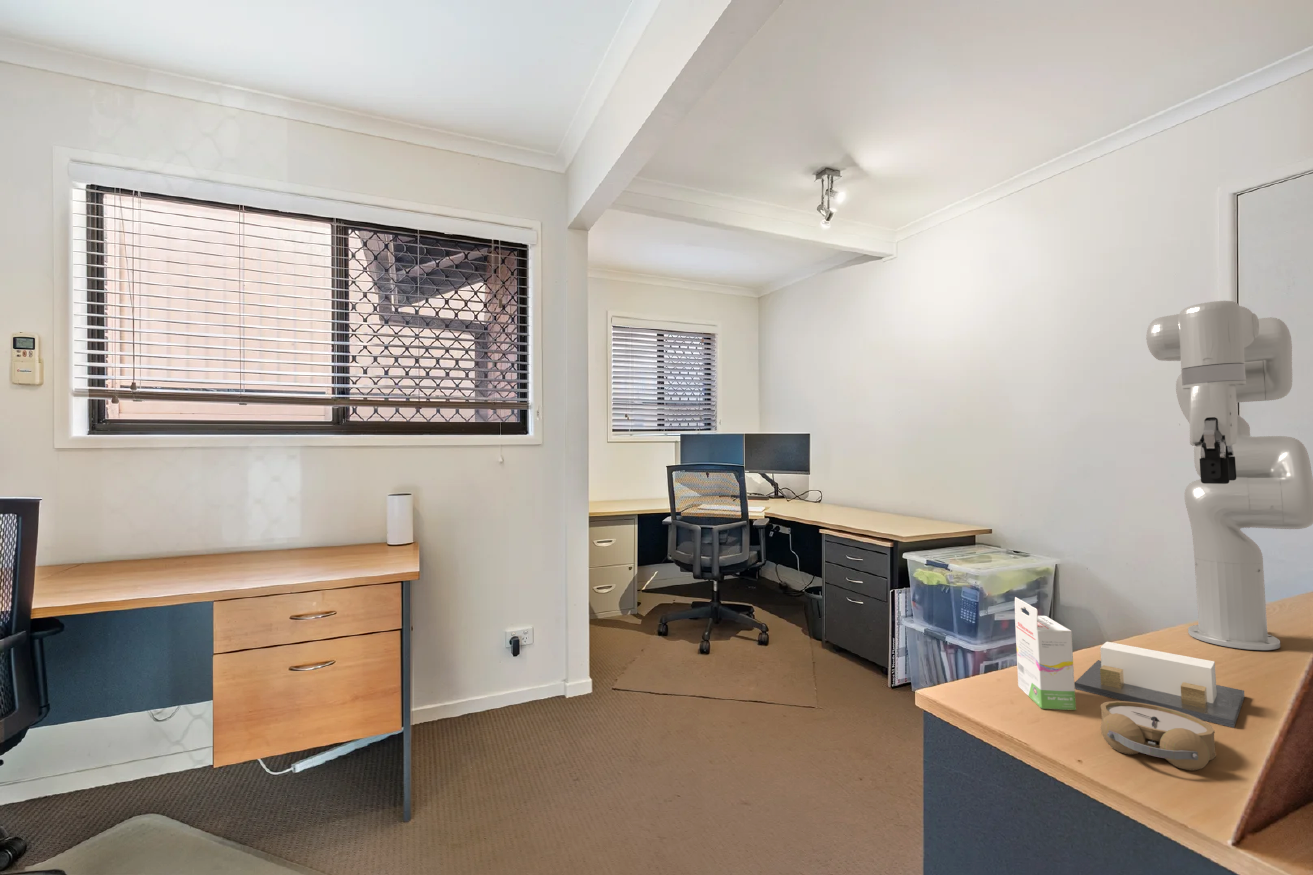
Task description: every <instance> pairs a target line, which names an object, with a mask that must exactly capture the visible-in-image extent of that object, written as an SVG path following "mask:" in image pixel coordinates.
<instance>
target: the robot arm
mask: <svg viewBox="0 0 1313 875" xmlns="http://www.w3.org/2000/svg"><path fill="white" fill-rule="evenodd" d="M1145 338H1146V339H1145V340H1146V344H1147V348H1148V352H1150V354H1151V355H1152V356H1153V357H1154V358H1155V359H1156V360H1157V361H1161V362H1163V361H1164V362H1180V369H1181V370H1180V372H1181V374H1180V375H1179V376H1178V377H1177V379H1176V381H1175V382H1176V383H1175V391H1176V398H1177V401H1178V405H1179V408H1180V410H1181V413H1182V414H1183V416H1184V417H1185V419H1186V420H1187V422H1188V423H1189V445H1191V446H1192V447H1193V459H1194V460H1193V461H1194V467H1195V471H1196V473H1197V475H1198V476H1199V477H1200V478H1199V479H1196V480H1193V481H1192V482H1191V483H1189V484H1188V485H1187V486H1186V488H1185V489H1184V503H1185V509H1186V511H1187V515H1188V518H1189V522H1190V529H1191V536H1192V543H1193V544H1192V545H1193V558H1194V571H1195V572H1194V573H1195V576H1194V577H1195V591H1196V592H1195V593H1196V604H1197V606H1196V607H1197V623H1198V624H1193V625H1190V626H1189V627H1187V628H1188V629H1187V630H1188V634H1189V636H1190V637H1192V638H1193V639H1197V640H1199V641H1202V642H1205V643H1208V644H1209V643H1210V644H1213V645H1217V646H1222V647H1227V648H1234V649H1240V650H1241V649H1242V650H1250V651H1272V650H1277V649H1280V648H1281V640H1280V639H1279V638H1277V637H1276V636H1273V635H1272V634H1268V621H1267V620H1268V619H1267V606H1266V605H1267V602H1266V591H1265V588H1266V587H1265V573H1264V571H1265V570H1264V558H1263V557H1264V556H1263V552H1262V550H1261V548H1260V546H1259V545H1258V544H1257V543H1256V542H1255V541H1254V540H1253V539H1252V538H1251V537H1249V536H1248V535H1247V534H1246V533H1244V532H1243V531H1242V529H1244V528H1246V529H1247V528H1248V529H1249V528H1255V529H1273V530H1274V529H1276V530H1277V529H1278V530H1303V529H1306V528H1308V527H1311V526H1312V525H1313V471H1312V467H1311V466H1312V465H1311V460H1310V457H1309V452H1308V450H1307V447H1306V446H1305V444H1303V442H1301V441H1300V440H1299V439H1298V438H1295V437H1292V436H1284V435H1283V436H1282V435H1263V436H1251V428H1250V424H1249V423H1248V422H1247V420H1245V419H1244V418H1243V417H1241V416H1240V415H1239V414H1238V405H1237V403H1249V402H1251V403H1252V402H1264V401H1265V402H1267V401H1268V402H1269V401H1276V400H1279V399H1282V398H1285V397H1286V396H1287V395H1288V394H1289V393H1290V392H1291V391H1292V390H1291V389H1292V386H1293V344H1292V336H1291V332H1290V329H1289V327H1288V325H1287V324H1286V323H1285V321H1283V320H1281V319H1280V318H1277V317H1273V316H1272V317H1260V318H1259V317H1258V316H1257V314H1256V313H1255V312H1254V313H1253V311H1251V309H1249V308H1248V307H1245V306H1242V305H1240V304H1239V303H1237V302H1236V301H1234V300H1216V301H1215V300H1214V301H1208V302H1202V303H1197V304H1193V305H1190V306H1187V307H1184V308H1183V309H1182V310H1181V311H1180V312H1179V313H1176V314H1172V315H1164V316H1161V317H1157V318H1155V319H1154V320H1152V321H1151V322H1150V323H1149V325H1148V327H1147V330H1146V337H1145Z"/></svg>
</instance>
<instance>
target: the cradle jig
mask: <svg viewBox="0 0 1313 875" xmlns="http://www.w3.org/2000/svg"><path fill="white" fill-rule="evenodd" d="M1074 685H1075V690H1078V691H1082V692H1086V693H1090V694H1094V695H1099V696H1103V697H1106V698H1110V699H1114V700H1117V701H1129V702H1138V703H1144V704H1150V705H1155V706H1160V707H1164V708H1168V709H1172V710H1176V711H1179V712H1182V713H1185V714H1188V715H1191V716H1193V717H1196V718H1198V719H1200V720H1203V721H1204V722H1207V723H1212V724H1217V725H1221V726H1225V727H1229V728H1232V729H1235V726H1236V724H1237V721H1238V717H1239V715H1240V711H1241V708H1242V705H1243V703H1244V700H1245V696H1246V695H1245V690H1244V689H1243V690H1242V689H1238V688H1235V687H1234V688H1233V687H1229V686H1223V685H1220V684H1216V690H1217V696H1216V698H1215V701H1214V703H1209V702H1207V690H1206V687H1204V686H1199V685H1194V684H1190V683H1185V682H1183V683H1182V685H1181V696H1178V695H1173V694H1169V693H1165V692H1160V691H1156V690H1151V689H1147V688H1143V687H1138V686H1134V685H1129V684H1125V683H1124V677H1123V669H1119V668H1114V667H1110V666H1105V665H1103V666H1102V667H1101V659H1100V660H1098V659H1097V660H1096V661H1095V662H1094V663H1093V664H1092V665H1091V666H1090V667H1089V668H1088V669H1087V670H1086V671H1085V672H1083V673H1082V674H1081V675H1080V677H1078V678H1077V679H1076V681H1074Z"/></svg>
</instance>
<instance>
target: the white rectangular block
mask: <svg viewBox="0 0 1313 875" xmlns="http://www.w3.org/2000/svg"><path fill="white" fill-rule="evenodd" d="M1100 661H1101V667H1102V666H1103V665H1105V666H1110V667H1114V668H1119V669H1123V677H1124V683H1125V684H1129V685H1134V686H1138V687H1143V688H1147V689H1151V690H1156V691H1160V692H1165V693H1169V694H1173V695H1178V696H1181V685H1182V683H1183V682H1185V683H1190V684H1194V685H1199V686H1204V687H1206V690H1207V702H1209V703H1214V701H1215V698H1216V696H1217V690H1216V685H1217V678H1216V662H1215V660H1210V659H1209V660H1208V659H1203V658H1197V657H1192V656H1188V655H1187V656H1186V655H1183V654H1182V655H1181V654H1176V653H1171V652H1165V651H1161V650H1160V651H1159V650H1153V649H1149V648H1144V647H1138V646H1133V645H1128V644H1121V643H1116V642H1113V641H1111V642H1110V641H1105V642H1104V643H1103V644H1102V645H1101V646H1100Z"/></svg>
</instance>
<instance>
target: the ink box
mask: <svg viewBox="0 0 1313 875" xmlns="http://www.w3.org/2000/svg"><path fill="white" fill-rule="evenodd" d="M1023 610H1026V611H1027V612H1028V614H1027V613H1025V612H1024V611H1023ZM1038 613H1039V611H1038V609H1037V608H1036V607H1034V606H1032V605H1031V604H1029V603H1028V602H1026V601H1024V600H1022V599H1020V598H1018V597H1016V596H1015V597H1014V623H1015V626H1014V628H1015V643H1016V644H1015V646H1016V647H1015V648H1016V664H1017V668H1016V670H1017V686H1018V688H1019V689H1021V691H1022V692H1024V693H1025V694H1026V696H1028V697H1029V698H1030V699H1031V700H1032V702H1034V703H1035V704H1036V705H1037V706H1038V707H1039V708H1040V709H1045V710H1061V711H1063V710H1064V711H1070V710H1071V711H1076V710H1077V704H1076V689H1075V674H1074V673H1075V672H1074V671H1075V670H1074V658H1073V657H1074V656H1073V631H1072V630H1070V629H1069V628H1067V627H1066V626H1064V625H1062V624H1060V623H1059V622H1057V621H1056V620H1053V619H1052V618H1050V617H1048V616H1047V615H1039V614H1038Z"/></svg>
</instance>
